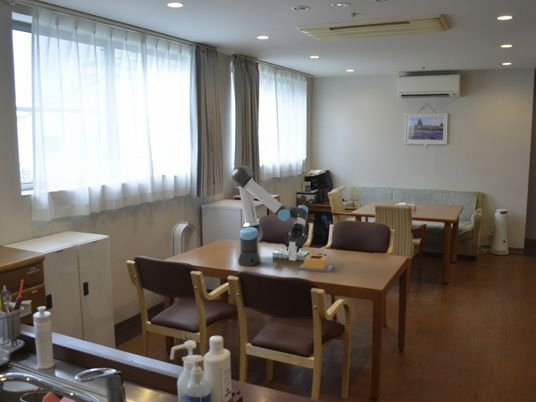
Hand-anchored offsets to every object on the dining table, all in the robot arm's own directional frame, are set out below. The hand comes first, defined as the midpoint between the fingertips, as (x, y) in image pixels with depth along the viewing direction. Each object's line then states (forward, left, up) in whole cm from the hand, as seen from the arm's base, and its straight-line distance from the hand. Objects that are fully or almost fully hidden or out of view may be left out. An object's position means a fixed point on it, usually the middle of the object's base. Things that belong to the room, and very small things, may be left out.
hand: (291, 256), depth 321 cm
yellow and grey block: (+15, +4, -8) cm, 18 cm away
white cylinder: (0, +4, -3) cm, 5 cm away
